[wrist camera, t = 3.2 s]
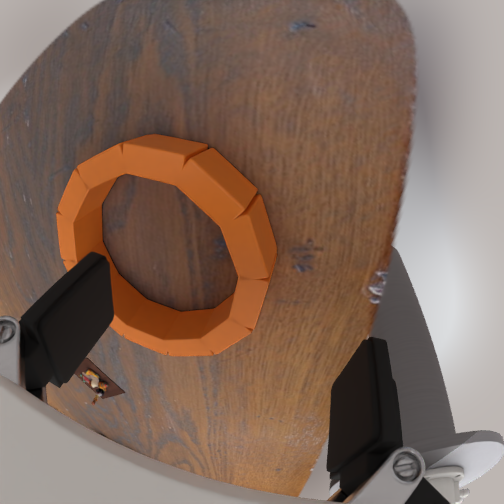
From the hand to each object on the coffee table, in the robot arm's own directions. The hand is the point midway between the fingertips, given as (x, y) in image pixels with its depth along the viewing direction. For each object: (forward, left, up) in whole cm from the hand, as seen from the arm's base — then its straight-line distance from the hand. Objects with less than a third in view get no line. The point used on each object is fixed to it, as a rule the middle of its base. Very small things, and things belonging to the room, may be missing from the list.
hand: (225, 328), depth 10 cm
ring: (+4, 0, -4) cm, 6 cm away
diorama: (+11, +17, -5) cm, 21 cm away
